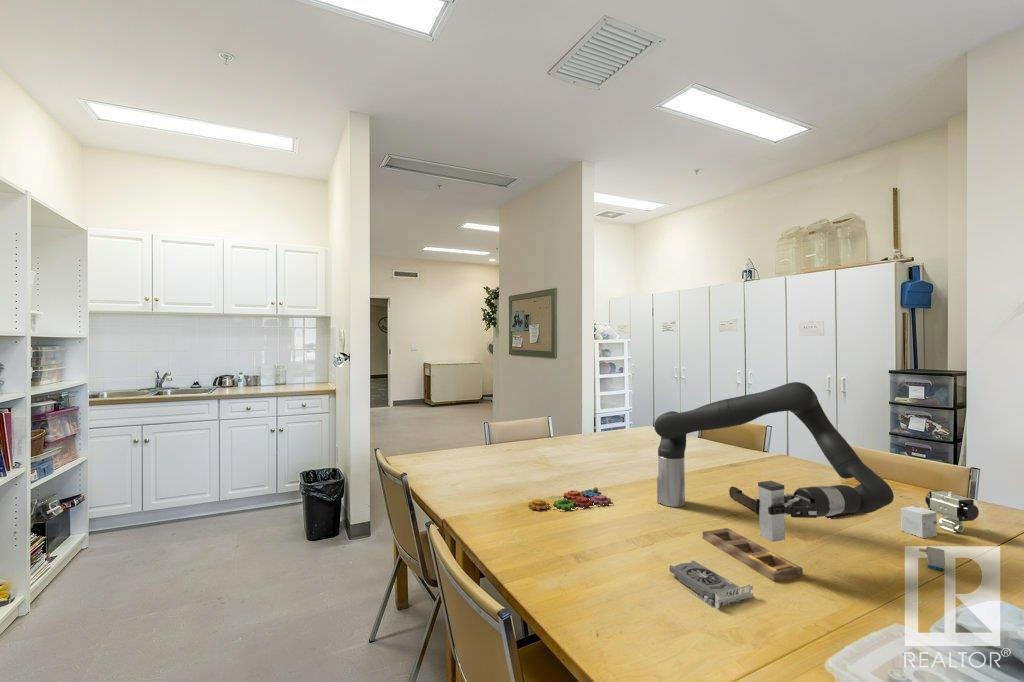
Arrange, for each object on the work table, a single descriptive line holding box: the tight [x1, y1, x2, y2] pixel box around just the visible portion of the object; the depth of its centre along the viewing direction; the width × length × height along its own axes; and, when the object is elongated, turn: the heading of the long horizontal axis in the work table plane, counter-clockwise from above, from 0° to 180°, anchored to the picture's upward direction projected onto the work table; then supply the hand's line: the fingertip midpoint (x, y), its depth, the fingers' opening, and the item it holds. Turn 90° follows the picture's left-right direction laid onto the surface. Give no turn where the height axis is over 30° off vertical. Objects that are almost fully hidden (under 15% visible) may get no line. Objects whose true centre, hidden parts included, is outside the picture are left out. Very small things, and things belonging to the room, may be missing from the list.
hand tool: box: [728, 486, 759, 516], centre depth 165 cm, size 19×4×5 cm, turn 4°
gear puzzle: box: [527, 486, 614, 511], centre depth 169 cm, size 31×16×4 cm, turn 107°
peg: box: [757, 480, 786, 543], centre depth 118 cm, size 4×4×14 cm
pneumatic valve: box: [924, 490, 980, 534], centre depth 141 cm, size 6×12×12 cm, turn 9°
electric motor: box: [918, 546, 946, 571], centre depth 119 cm, size 7×5×5 cm
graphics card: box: [669, 560, 754, 611], centre depth 111 cm, size 17×4×12 cm
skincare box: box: [900, 505, 938, 539], centre depth 139 cm, size 6×6×7 cm
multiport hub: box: [824, 512, 860, 519], centre depth 156 cm, size 4×14×2 cm, turn 107°
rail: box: [702, 527, 804, 582], centre depth 126 cm, size 26×9×2 cm, turn 16°
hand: (762, 506), depth 118 cm, fingers closed on peg, 4 cm apart
